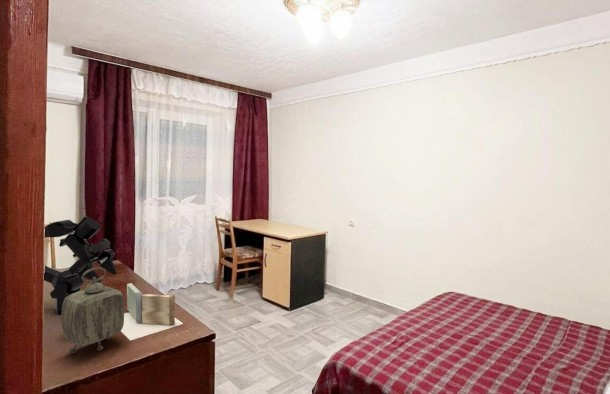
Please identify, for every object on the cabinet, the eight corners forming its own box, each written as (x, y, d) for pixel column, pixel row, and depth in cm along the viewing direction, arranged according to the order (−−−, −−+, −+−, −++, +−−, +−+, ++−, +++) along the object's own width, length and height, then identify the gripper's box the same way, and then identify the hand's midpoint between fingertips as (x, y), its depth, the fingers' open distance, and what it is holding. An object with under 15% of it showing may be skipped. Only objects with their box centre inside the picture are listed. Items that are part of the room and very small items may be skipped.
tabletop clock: (111, 335, 111) (110, 260, 110) (128, 343, 107) (127, 265, 105) (62, 355, 99) (59, 271, 97) (78, 365, 94) (76, 277, 93)
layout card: (130, 341, 108) (130, 340, 108) (107, 318, 124) (107, 317, 124) (183, 324, 121) (183, 323, 121) (156, 305, 137) (156, 304, 137)
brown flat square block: (141, 323, 120) (141, 294, 119) (144, 321, 121) (144, 292, 121) (173, 325, 119) (173, 296, 118) (175, 323, 121) (175, 294, 120)
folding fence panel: (143, 321, 120) (142, 293, 120) (137, 323, 119) (136, 294, 118) (132, 308, 131) (131, 282, 131) (126, 310, 130) (126, 283, 129)
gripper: (77, 237, 118) (107, 271, 118) (110, 229, 136) (136, 257, 137) (55, 258, 119) (85, 291, 119) (91, 247, 137) (117, 275, 138)
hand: (108, 277), depth 128 cm, fingers open, 9 cm apart
